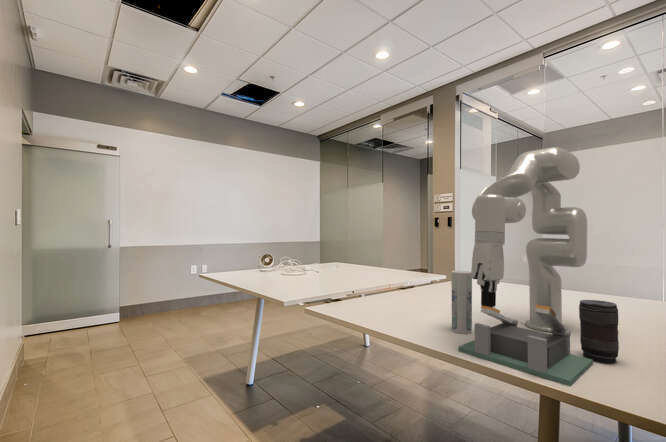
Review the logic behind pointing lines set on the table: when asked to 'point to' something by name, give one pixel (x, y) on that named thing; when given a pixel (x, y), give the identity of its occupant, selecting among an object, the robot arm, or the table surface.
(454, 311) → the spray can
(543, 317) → the strap
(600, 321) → the camera lens
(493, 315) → the strap
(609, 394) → the table surface
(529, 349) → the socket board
